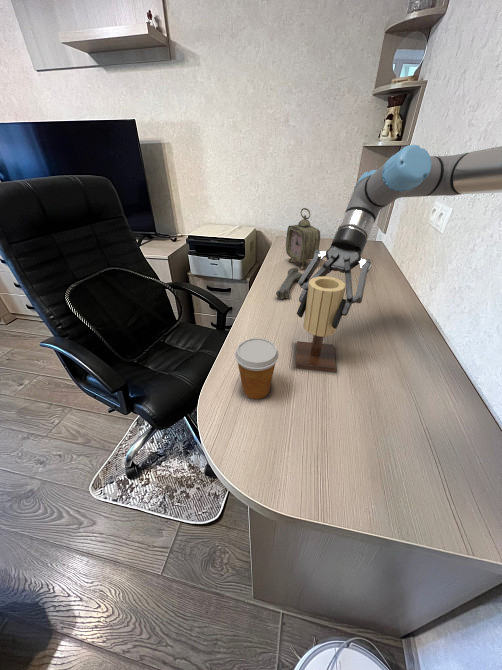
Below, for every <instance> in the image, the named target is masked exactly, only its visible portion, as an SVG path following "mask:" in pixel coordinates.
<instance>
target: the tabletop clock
mask: <svg viewBox="0 0 502 670" xmlns="http://www.w3.org/2000/svg"><path fill="white" fill-rule="evenodd" d="M303 211H307V213H308V217H307V215H306V214H305V215H303V213H302V212H303ZM300 216H301V218H302V219H300V220H299V221H298V224H293V225H288V227H287V230H286V238H285V251H286V255H287V256H288V257H289V259H288V263H292V261H296V262H299V263H301V262H302V263H301V266H300V270H305V266H304V265H306V264H307V261H311V260H312V259H313V257H314V253H315V250H317V249H318V250H319V251H320V245H321V230H319V229H318V228H316V227H314V226H312V225H311V222H310V220H309V219H310V218H311V211H310V209H309V208H307V207H303V208H301V210H300Z"/></svg>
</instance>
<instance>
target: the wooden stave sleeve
mask: <svg viewBox="0 0 502 670" xmlns="http://www.w3.org/2000/svg"><path fill="white" fill-rule="evenodd" d="M311 278H312V277H311ZM311 278H310V279H311ZM310 279H309V280H310ZM345 293H346V282H344V281H343V280H341V279H340V278H337V277H333V276H327V275H326V276H322V277H321V276H320V277H315V278H312V279H311V280H310V281H309V286H308V294H307V302H306V309H305V312H304V316H303V329H304V330H305V331H306V332H307V333H308V334H310V335H312V336H313V335H316V336H322V337H323V338H324V337H330V336H332V335H334V334H335V333H336V332H337V329H338V328H337V329H335V328H333V326H332V323H333V320H334V318H335V316H336V313H337V311H338V308H339V306H340V304H341V301H342V299H344V296H345Z"/></svg>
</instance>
